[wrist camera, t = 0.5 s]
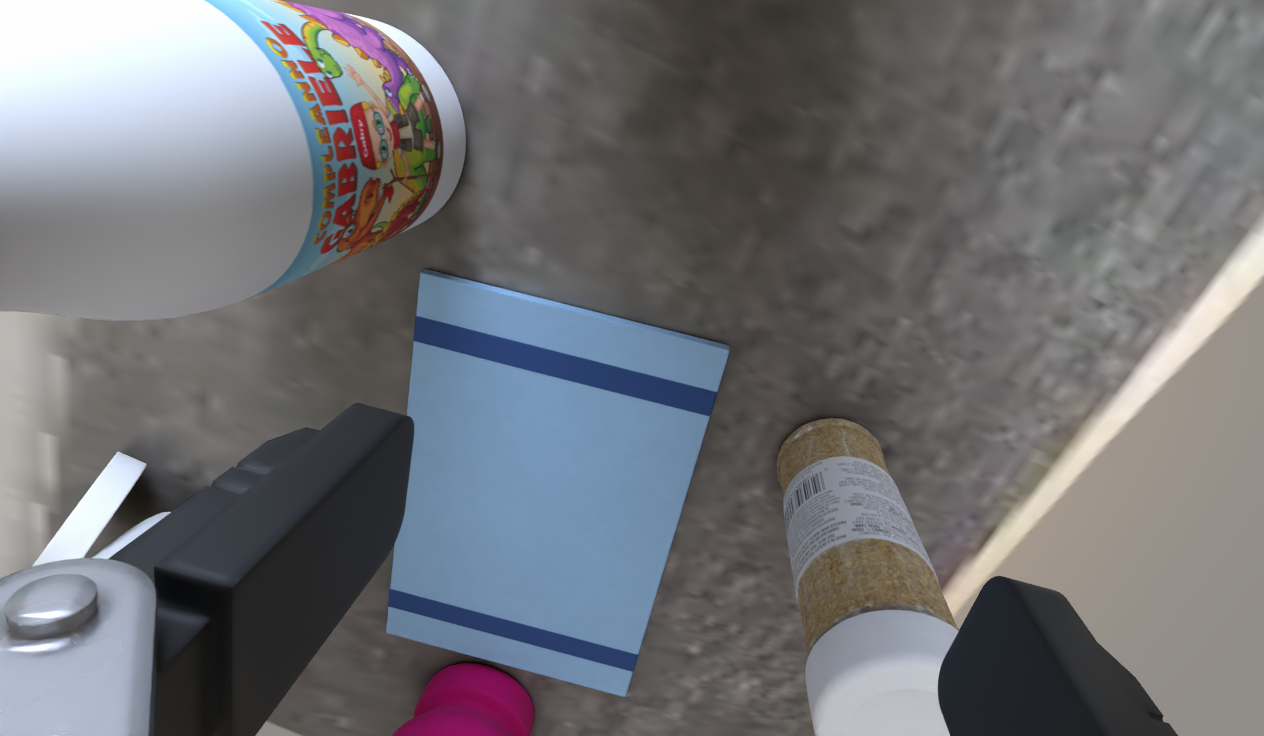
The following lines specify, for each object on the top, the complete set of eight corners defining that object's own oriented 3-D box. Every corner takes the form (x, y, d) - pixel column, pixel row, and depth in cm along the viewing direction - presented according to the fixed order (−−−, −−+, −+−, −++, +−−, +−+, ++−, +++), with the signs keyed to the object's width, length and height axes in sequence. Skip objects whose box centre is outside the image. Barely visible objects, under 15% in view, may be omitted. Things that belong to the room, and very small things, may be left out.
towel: (425, 268, 28) (419, 272, 27) (730, 345, 28) (730, 350, 27) (390, 625, 36) (385, 634, 35) (626, 688, 36) (625, 698, 35)
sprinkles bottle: (820, 523, 30) (888, 821, 18) (753, 455, 29) (774, 720, 17) (906, 465, 29) (1045, 749, 16) (838, 392, 28) (930, 633, 15)
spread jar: (290, 660, 38) (120, 884, 27) (99, 592, 38) (-148, 790, 27) (319, 492, 33) (127, 683, 22) (100, 413, 33) (-198, 568, 22)
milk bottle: (337, 253, 28) (-376, 557, 10) (244, 62, 26) (-939, -6, 7) (502, 196, 26) (6, 436, 8) (420, -16, 24) (-570, -357, 6)
